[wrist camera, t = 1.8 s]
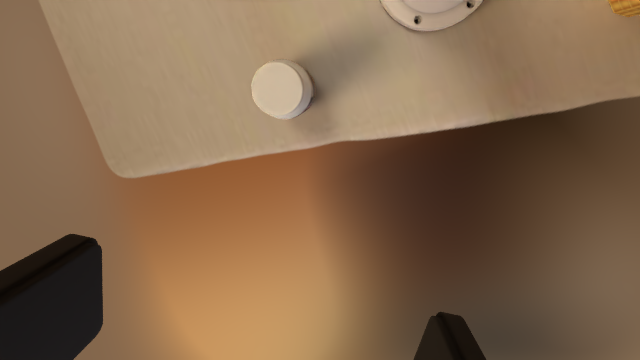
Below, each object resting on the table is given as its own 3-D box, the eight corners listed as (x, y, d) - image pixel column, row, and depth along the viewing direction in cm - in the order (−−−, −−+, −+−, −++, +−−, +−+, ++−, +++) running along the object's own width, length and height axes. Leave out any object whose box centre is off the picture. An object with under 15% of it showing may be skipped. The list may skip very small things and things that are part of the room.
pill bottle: (281, 121, 37) (261, 132, 27) (261, 76, 36) (233, 71, 26) (323, 103, 36) (318, 108, 27) (304, 56, 35) (292, 43, 25)
